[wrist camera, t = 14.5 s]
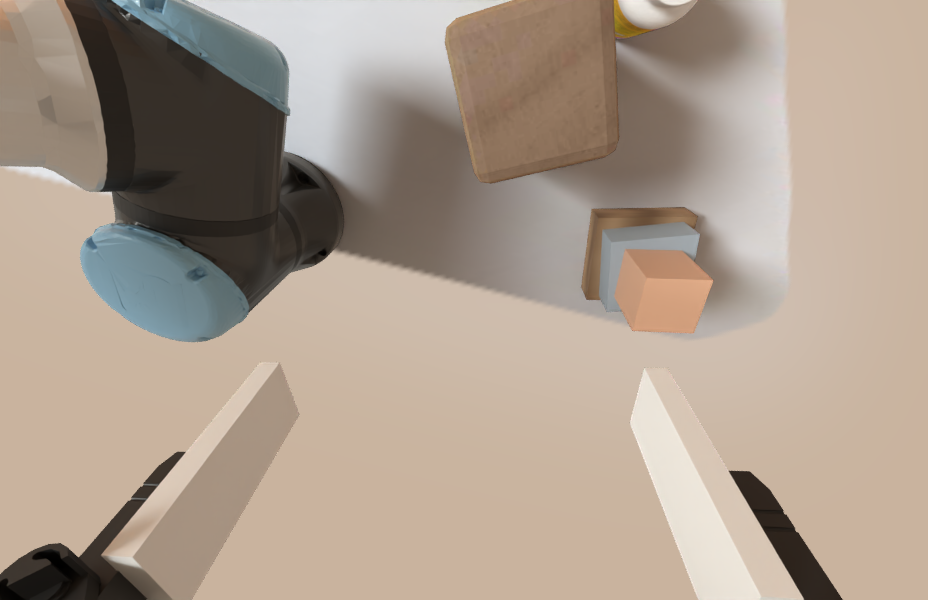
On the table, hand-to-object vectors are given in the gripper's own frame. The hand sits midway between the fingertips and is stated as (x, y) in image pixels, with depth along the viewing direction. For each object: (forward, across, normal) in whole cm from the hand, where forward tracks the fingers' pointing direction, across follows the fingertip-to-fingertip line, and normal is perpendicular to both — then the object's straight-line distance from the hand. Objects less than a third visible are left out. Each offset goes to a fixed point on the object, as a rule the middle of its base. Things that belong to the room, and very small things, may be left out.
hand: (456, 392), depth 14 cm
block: (+37, +4, +9) cm, 38 cm away
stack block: (+29, +18, -10) cm, 36 cm away
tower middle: (+33, +19, -10) cm, 39 cm away
